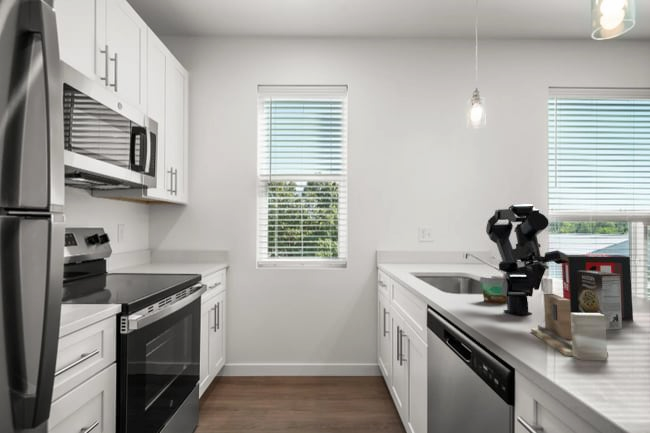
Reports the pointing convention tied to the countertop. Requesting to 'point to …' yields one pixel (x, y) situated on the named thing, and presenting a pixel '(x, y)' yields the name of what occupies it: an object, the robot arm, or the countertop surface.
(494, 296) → the food container
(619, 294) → the coffee box
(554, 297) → the door
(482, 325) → the countertop surface
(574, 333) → the track
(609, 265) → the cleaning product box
